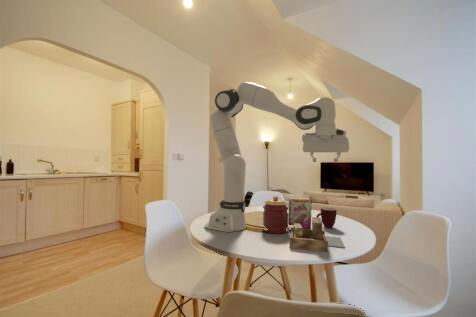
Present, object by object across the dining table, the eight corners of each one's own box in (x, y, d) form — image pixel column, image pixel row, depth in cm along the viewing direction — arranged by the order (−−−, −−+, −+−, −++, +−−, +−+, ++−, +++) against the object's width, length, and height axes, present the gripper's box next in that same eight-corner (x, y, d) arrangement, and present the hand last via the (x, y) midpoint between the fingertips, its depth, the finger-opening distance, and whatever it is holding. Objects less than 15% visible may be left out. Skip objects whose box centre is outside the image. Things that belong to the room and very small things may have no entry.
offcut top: (295, 235, 96) (295, 227, 96) (293, 231, 103) (293, 223, 103) (302, 236, 96) (302, 228, 96) (300, 231, 103) (300, 223, 103)
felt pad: (326, 246, 95) (326, 245, 95) (324, 236, 108) (324, 235, 108) (345, 248, 93) (345, 247, 93) (340, 238, 106) (340, 237, 106)
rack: (289, 247, 93) (289, 237, 93) (291, 236, 107) (291, 227, 108) (327, 251, 89) (328, 241, 89) (324, 239, 103) (324, 230, 103)
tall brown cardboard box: (312, 248, 93) (313, 222, 93) (312, 240, 102) (312, 217, 103) (322, 249, 92) (322, 223, 92) (320, 241, 101) (320, 217, 102)
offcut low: (293, 245, 96) (293, 236, 96) (294, 239, 104) (294, 230, 104) (301, 246, 95) (301, 237, 95) (301, 239, 103) (301, 230, 103)
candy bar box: (289, 230, 116) (289, 198, 116) (288, 228, 121) (288, 197, 121) (311, 231, 115) (311, 199, 115) (309, 229, 120) (309, 198, 120)
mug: (320, 229, 119) (321, 210, 119) (313, 225, 127) (313, 207, 127) (339, 229, 120) (339, 210, 121) (331, 225, 128) (331, 207, 129)
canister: (263, 233, 110) (263, 197, 111) (262, 226, 123) (262, 194, 124) (290, 234, 110) (290, 198, 110) (286, 227, 123) (286, 194, 123)
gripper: (302, 132, 106) (301, 161, 105) (350, 131, 100) (349, 162, 100) (302, 133, 112) (301, 161, 111) (347, 133, 106) (347, 162, 106)
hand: (324, 162), depth 106 cm, fingers open, 8 cm apart
